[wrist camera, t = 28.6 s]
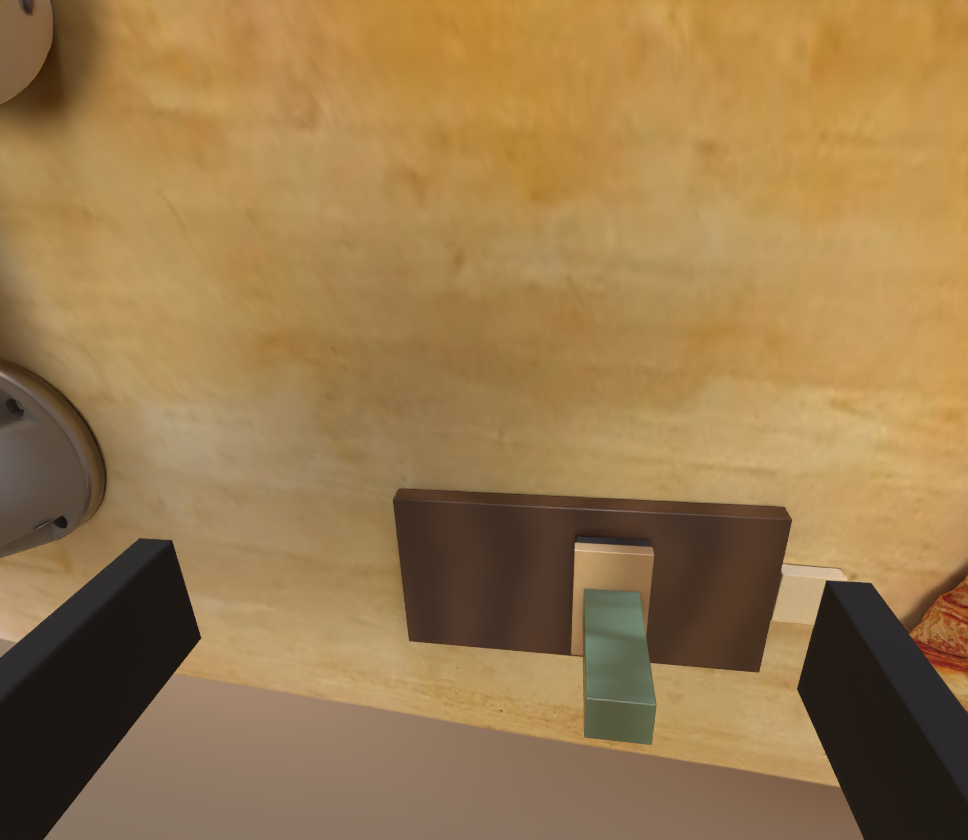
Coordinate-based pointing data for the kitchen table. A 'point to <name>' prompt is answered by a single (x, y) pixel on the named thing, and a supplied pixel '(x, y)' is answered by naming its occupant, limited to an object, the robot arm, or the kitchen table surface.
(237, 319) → the kitchen table surface
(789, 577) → the cream square tile
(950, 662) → the croissant
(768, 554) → the walnut board
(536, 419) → the kitchen table surface
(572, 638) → the green block on base
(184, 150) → the kitchen table surface
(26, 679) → the robot arm
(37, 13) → the teacup
